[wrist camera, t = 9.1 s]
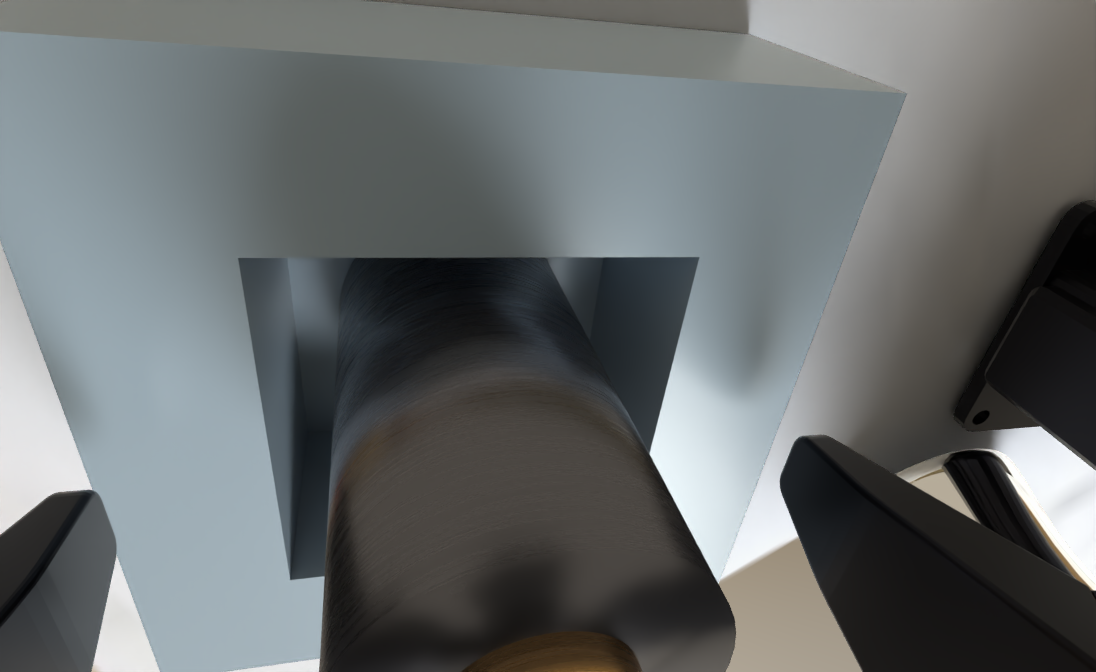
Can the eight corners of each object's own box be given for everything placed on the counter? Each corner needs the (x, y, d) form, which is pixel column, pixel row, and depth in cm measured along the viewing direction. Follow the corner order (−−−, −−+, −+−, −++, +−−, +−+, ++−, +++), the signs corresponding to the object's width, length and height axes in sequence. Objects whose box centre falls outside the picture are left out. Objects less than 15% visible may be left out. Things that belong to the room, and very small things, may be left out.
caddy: (750, 34, 11) (907, 93, 8) (643, 462, 17) (710, 603, 13) (88, -25, 9) (-79, 26, 6) (211, 496, 14) (163, 679, 11)
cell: (566, 209, 12) (823, 584, 5) (546, 389, 14) (711, 819, 7) (330, 207, 11) (284, 669, 4) (346, 402, 13) (333, 913, 6)
